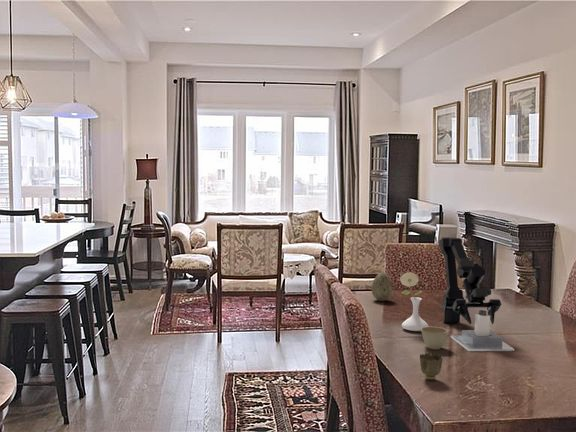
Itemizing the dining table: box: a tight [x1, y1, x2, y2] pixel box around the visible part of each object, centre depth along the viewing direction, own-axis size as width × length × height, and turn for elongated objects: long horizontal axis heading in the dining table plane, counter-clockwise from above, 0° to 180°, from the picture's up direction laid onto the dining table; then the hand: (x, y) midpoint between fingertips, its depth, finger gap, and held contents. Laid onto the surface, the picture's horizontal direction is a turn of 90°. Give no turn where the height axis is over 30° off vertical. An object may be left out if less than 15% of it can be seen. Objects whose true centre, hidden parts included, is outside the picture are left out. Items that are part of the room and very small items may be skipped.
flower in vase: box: [399, 271, 430, 332], centre depth 272 cm, size 13×11×25 cm
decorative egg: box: [371, 271, 393, 302], centre depth 329 cm, size 11×11×15 cm
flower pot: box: [420, 326, 449, 350], centre depth 246 cm, size 10×10×7 cm
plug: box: [473, 309, 491, 336], centre depth 252 cm, size 4×4×12 cm
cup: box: [419, 352, 444, 382], centre depth 209 cm, size 8×7×8 cm
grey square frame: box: [450, 329, 515, 352], centre depth 253 cm, size 20×18×4 cm
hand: (481, 323), depth 252 cm, fingers open, 9 cm apart
